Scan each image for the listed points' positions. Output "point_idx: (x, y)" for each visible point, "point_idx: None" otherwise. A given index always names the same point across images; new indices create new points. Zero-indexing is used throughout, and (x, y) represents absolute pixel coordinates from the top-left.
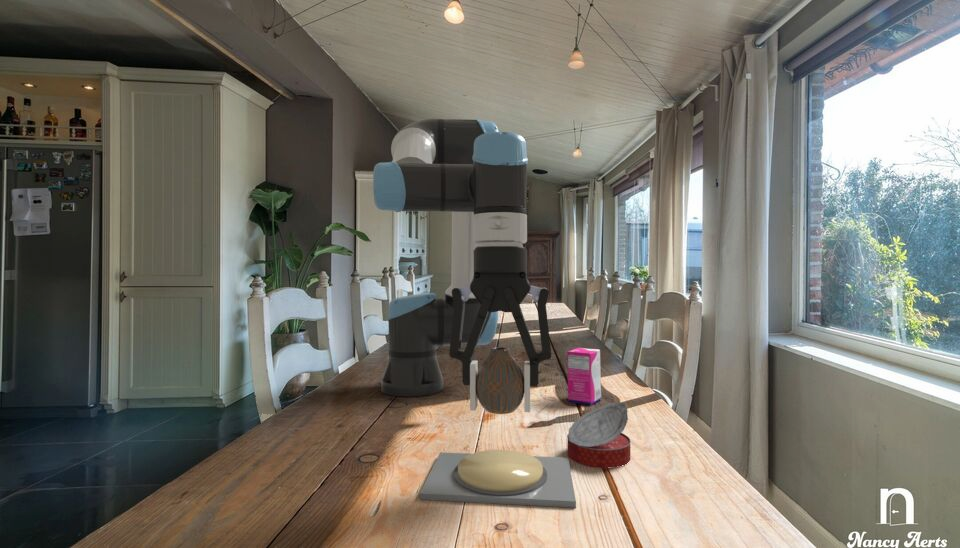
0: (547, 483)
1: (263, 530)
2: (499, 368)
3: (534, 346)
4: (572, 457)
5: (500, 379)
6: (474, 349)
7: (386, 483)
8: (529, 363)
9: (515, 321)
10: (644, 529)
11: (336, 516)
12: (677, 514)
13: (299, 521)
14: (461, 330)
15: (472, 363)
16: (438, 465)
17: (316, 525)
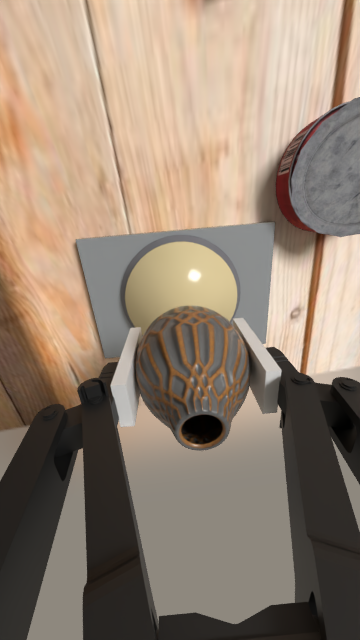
0: (239, 311)
1: (6, 419)
2: (199, 429)
3: (320, 406)
4: (281, 207)
5: (200, 419)
6: (120, 445)
7: (51, 329)
8: (277, 395)
9: (295, 568)
10: (315, 362)
11: (48, 393)
12: (357, 333)
13: (23, 405)
14: (44, 510)
15: (125, 421)
16: (94, 288)
17: (42, 407)
